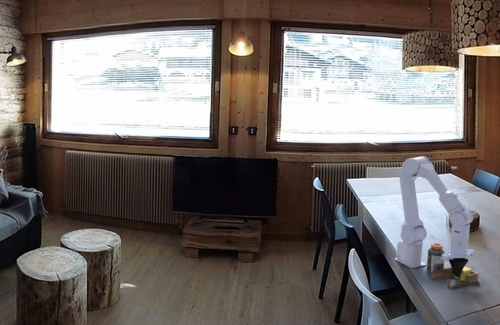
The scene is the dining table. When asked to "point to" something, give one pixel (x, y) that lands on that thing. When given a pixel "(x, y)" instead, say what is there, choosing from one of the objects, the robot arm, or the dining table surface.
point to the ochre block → (464, 273)
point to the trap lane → (448, 271)
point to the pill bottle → (435, 257)
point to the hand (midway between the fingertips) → (456, 275)
